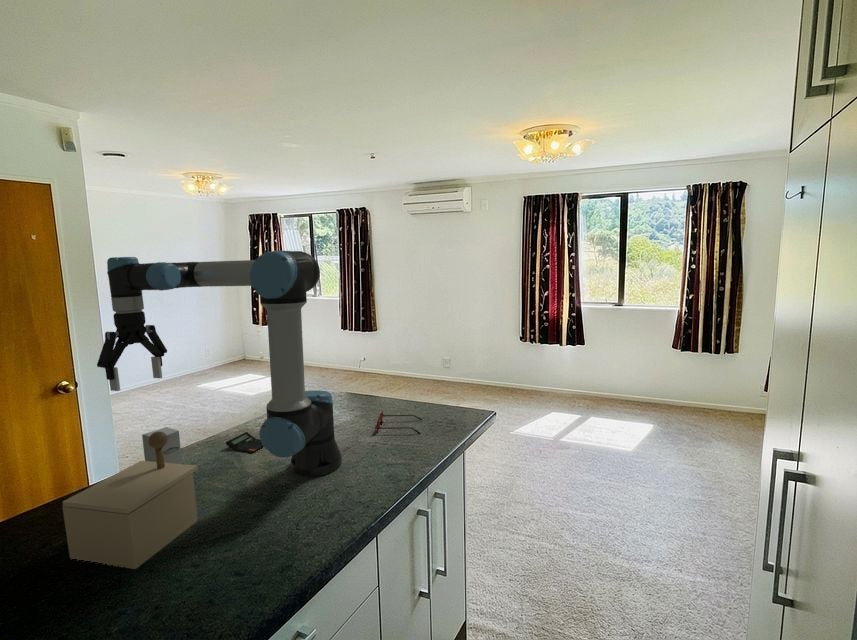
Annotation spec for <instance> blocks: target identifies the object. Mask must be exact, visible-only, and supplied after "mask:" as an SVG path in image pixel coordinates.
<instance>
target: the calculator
mask: <svg viewBox="0 0 857 640" xmlns="http://www.w3.org/2000/svg"><path fill="white" fill-rule="evenodd" d="M225 445H227V446H228V447H229V448H230V449H232V451H234V450H235V452H240V451H241V452H240V453H246V452H248V453H247V454H252V453H254V454H255V453H257V452H259V451H261V450H263V449H264V448H265V447H264V446H263V444H262V443H261V440H260V438H255V437H254V436H253V435H252V434H250V433H249V432H248V431H246V432H243V433H241V434H239V435H238V436H235V437H232V438H231V439H229V440H227V441H226V442H225ZM263 447H264V448H263ZM262 448H263V449H262ZM260 449H261V450H260ZM258 450H259V451H258ZM256 451H257V452H256Z"/></svg>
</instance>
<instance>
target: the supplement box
mask: <svg viewBox="0 0 857 640" xmlns="http://www.w3.org/2000/svg"><path fill="white" fill-rule="evenodd" d="M155 432H163V433H165V434H166V435H167V443H166V444H165V445H164V446H163V455H164V463H174V464H183V460H182V451H181V450H182V449H181V440H180V439H181V438H180V430H178V429H174V428H171V427H167V426H165V427H162V428H159V429H156V430H155V429H154V430H152V431H149V432H147V433H142V435H141V437H142V447H143V455H144V461H151V462H156V453H155V448H152V447H151V446H150V445H149V443H148V439H149V437H150V435H151V434H153V433H155Z"/></svg>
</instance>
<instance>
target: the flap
mask: <svg viewBox="0 0 857 640" xmlns="http://www.w3.org/2000/svg"><path fill="white" fill-rule="evenodd" d="M148 443H149V445H150V446H151V447H152V448H155V453H156V462H151V461H145V460H139V461H138V462H136V463H134V464H132V465H130V466H128V467H127V468H124V469H122V470H121V471H119V472H117V473H115V474H113V475H111V476H109V477H107V478H105V479H103V480H102V481H99V482H98V483H96V484H94V485H91V486H89V487H88V488H86V489H84V490H82V491H80V492H78V493H77V494H74V495H73V496H70V497H68V498H66V499H65V500H63V501H62V507H63V506H67V507H75V508H83V509H92V510H100V511H108V512H117V513H125V514H128V513H130V512H132V511H133V510H135V509H136V508H138V507H139V506H141V505H143V504H144V503H146V502H147V501H149V500H151V499H152V498H154V497H155V496H157V495H158V494H160V493H162V492H163V491H165V490H166V489H168V488H169V487H171V486H173V485H174V484H176V483H177V482H179V481H181V480H182V479H184V478H185V477H187V476H188V475H190V474H193V473H194V472H196V471H198V470H199V467H198V465H196V464H184V463H182V464H174V463H164V455H163V446H164V445H165V444H166V443H167V435H166V434H165V433H163V432H155V433H153V434H151V435H150V437H149V439H148Z"/></svg>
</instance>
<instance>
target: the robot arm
mask: <svg viewBox="0 0 857 640" xmlns="http://www.w3.org/2000/svg"><path fill="white" fill-rule="evenodd" d="M106 264H107V265H106V266H107V269H106V270H107V272H106V273H107V277H108V283H109V292H110V299H111V306H112V311H113V312H114V313H113V315H112V316H113V324H114V326H115V329H116V330H115V331H105V334H104V342H103V345H102V349H101V352H100V355H99V357H98V360H97V364H96V366H97V368H102V369H105V370H104V371H105V377H106V380H107V381H108V382H109V388H110V391H111V392H112V391H113V392H120V391H121V385H120V383H121V382H120V378H119V370H118V369H119V368H118V367H116V364H117V363H118V361H119V359H120V357H121V356H122V354H123V353H124V351H125V350H126V348H127V347H128V346H129V345H134V344H140V345H142V347H144V348H145V349H146V350H147V351H148V352H149V353H150V354H151V355H152V356H151V357H150V359H151V360H150V361H151V370H152V377H153V379H162V378H163V370H162V367H163V358H162V357H164V356H165V354H167V353H168V349H167V347H166V346H165V345H164V343H163V341H162V339H161V338H160V336H159V334H158V333H157V330H156V325H155V324H146V316H145V315H146V313H145V312H144V311H143V310H144V309H145V305H144V297H143V291H160V292H161V291H169V290H174V289H179V288H180V289H182V288H200V287H201V288H202V287H251V288H252V289H253V290H255V293H256V294H257V295H259V301H260V302H259V303H260V305H261V306H262V307H263V308H264V309H265V310H266V315H267V316H266V317H267V332H268V333H267V334H268V337H267V338H268V350H269V352H268V353H269V366H270V367H269V368H270V370H269V371H270V384H271V399H270V400H269V401H268V403H267V404H266V406H265V407H266V408H265V409H266V419H265V420H264V421H263V423H262V424H261V426H260V428H259V439H260V440H261V443H262V444H263V446H264V449H265V450H267V451H268V452H269V454H271V455H273V456H276V457H278V458H290V457H291V459H290V470H291V472H292V473H293V474H295V475H296V476H301V477H317V476H323V475H327V474H330V473H332V472H334V471H336V470H338V469H339V468H340V467H341V466H342V463H343V459H342V454H341V451H340V448H339V447H338V443H337V441H336V439H335V422H334V421H335V420H334V402H333V397H332V396H333V395H332V394H331V392H329V391H327V390H315V389H314V390H306V389H305V388H306V387H305V386H306V385H305V364H304V363H305V362H304V343H303V340H304V339H303V322H302V320H303V319H302V318H303V316H302V308H303V307H304V306H305V305H306V304H307V303H308V302H307V299H308V298H307V292H309V291H310V290H312V289H314V287H315V286H317V284H318V282H319V280H320V275H321V274H320V273H321V270H320V265H319V263H318V262H317V260H316V259H315V258H314V257H313V256H312V255H311V254H310V253H307V252H305V251H303V250H294V251H293V250H280V249H277V250H271V251H266V252H264V253H262V254H260V255H259V256H258V257H257V258H255V259H247V260H222V261H221V260H219V261H217V260H216V261H213V260H211V261H188V262H187V261H185V262H181V261H180V262H166V261H165V262H164V261H163V262H162V261H159V262H148V263H140V262H139V259H138V258H137V257H136V256H119V257H118V256H115V257H114V256H113V257H109V258H108V259H107V262H106ZM145 324H146V325H145ZM146 334H147V336H146Z"/></svg>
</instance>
